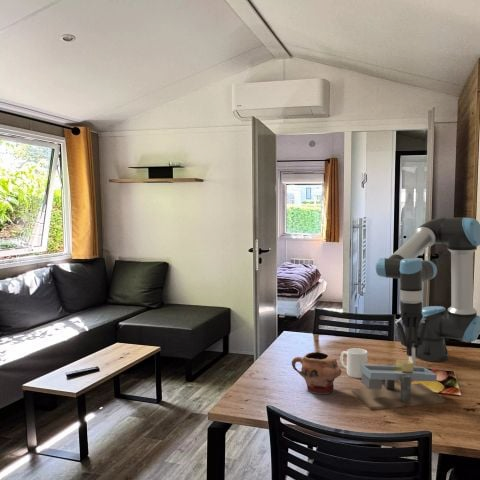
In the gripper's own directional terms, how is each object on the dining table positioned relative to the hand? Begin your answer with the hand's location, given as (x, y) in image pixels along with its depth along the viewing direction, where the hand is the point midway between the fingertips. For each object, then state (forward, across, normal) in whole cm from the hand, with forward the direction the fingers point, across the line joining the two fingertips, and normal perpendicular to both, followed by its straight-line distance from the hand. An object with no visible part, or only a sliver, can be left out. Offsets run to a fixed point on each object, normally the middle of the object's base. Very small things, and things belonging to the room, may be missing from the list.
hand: (411, 364), depth 176 cm
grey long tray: (+8, +6, -1) cm, 10 cm away
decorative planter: (+12, +32, -14) cm, 37 cm away
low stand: (+12, +6, -1) cm, 13 cm away
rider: (+3, +3, 0) cm, 5 cm away
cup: (+12, +11, -27) cm, 32 cm away
